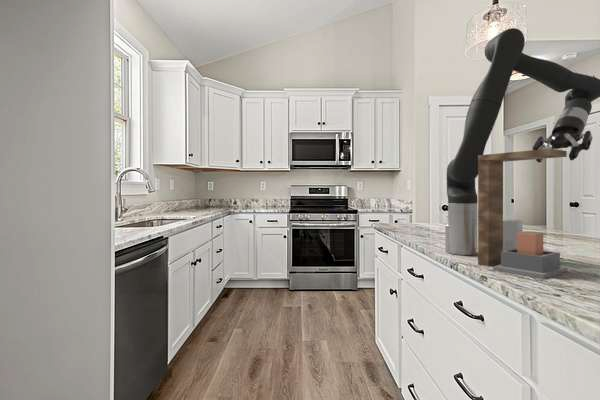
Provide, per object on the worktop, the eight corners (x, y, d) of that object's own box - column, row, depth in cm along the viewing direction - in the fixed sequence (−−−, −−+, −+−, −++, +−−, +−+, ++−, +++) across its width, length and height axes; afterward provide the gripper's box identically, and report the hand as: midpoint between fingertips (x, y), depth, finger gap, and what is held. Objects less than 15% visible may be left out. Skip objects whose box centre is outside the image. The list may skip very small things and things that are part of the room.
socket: (493, 270, 96) (493, 251, 95) (518, 264, 103) (518, 246, 103) (543, 278, 86) (543, 258, 85) (567, 271, 93) (567, 252, 93)
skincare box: (508, 255, 117) (508, 219, 117) (522, 257, 114) (523, 220, 114) (502, 258, 113) (502, 220, 112) (517, 260, 110) (517, 221, 109)
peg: (516, 266, 95) (516, 233, 95) (524, 264, 98) (524, 231, 97) (535, 269, 91) (535, 234, 91) (543, 267, 94) (543, 233, 94)
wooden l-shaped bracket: (476, 264, 103) (476, 155, 102) (494, 261, 108) (494, 157, 108) (548, 277, 87) (549, 148, 87) (565, 271, 93) (566, 151, 92)
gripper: (541, 119, 117) (524, 152, 111) (595, 110, 105) (579, 147, 99) (548, 137, 120) (532, 169, 114) (601, 130, 108) (586, 167, 102)
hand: (554, 159), depth 106 cm, fingers open, 8 cm apart
